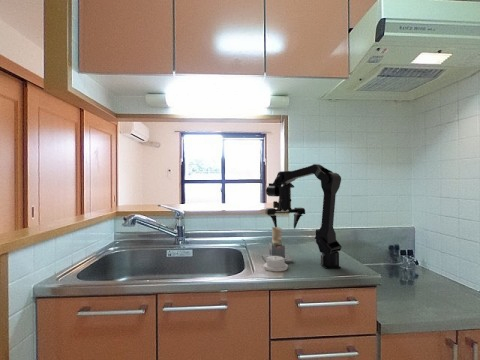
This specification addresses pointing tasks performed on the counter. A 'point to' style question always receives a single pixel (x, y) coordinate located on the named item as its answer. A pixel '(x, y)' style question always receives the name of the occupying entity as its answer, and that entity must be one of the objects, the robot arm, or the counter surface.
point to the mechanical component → (275, 264)
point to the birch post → (276, 236)
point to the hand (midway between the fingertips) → (285, 228)
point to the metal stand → (277, 253)
